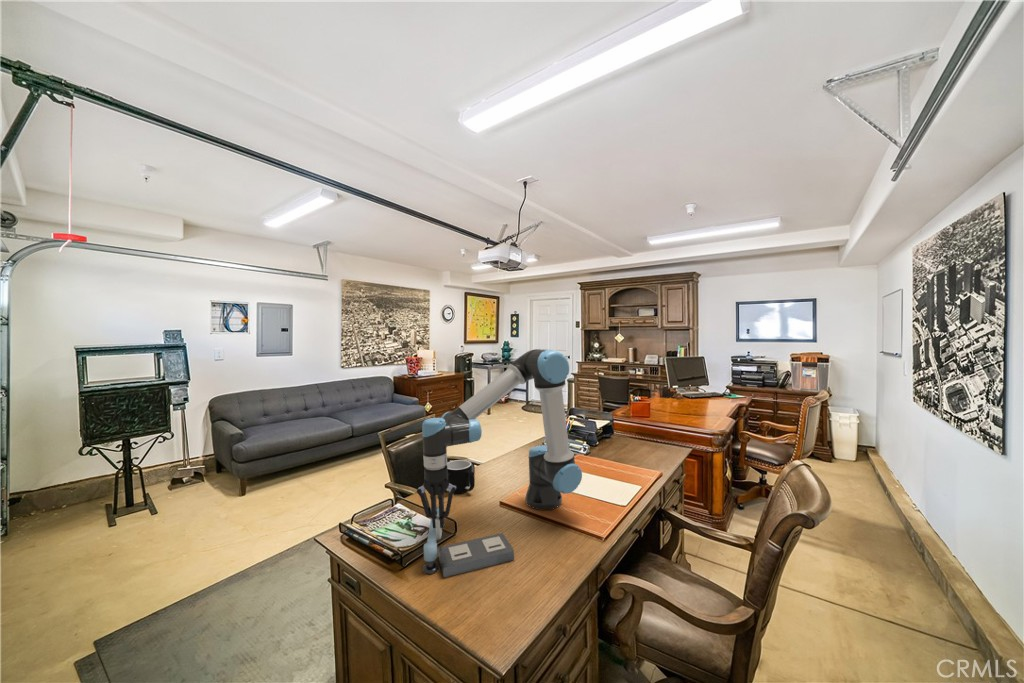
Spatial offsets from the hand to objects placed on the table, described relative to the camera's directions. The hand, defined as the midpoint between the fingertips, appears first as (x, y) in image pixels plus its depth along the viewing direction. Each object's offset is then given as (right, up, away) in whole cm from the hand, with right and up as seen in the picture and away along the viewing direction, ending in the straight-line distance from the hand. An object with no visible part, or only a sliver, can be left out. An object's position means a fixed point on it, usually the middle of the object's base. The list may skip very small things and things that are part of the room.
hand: (439, 536), depth 120 cm
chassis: (+12, -5, -4) cm, 14 cm away
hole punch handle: (-2, -1, +3) cm, 4 cm away
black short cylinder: (-1, -5, -9) cm, 10 cm away
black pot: (0, -4, +46) cm, 46 cm away
